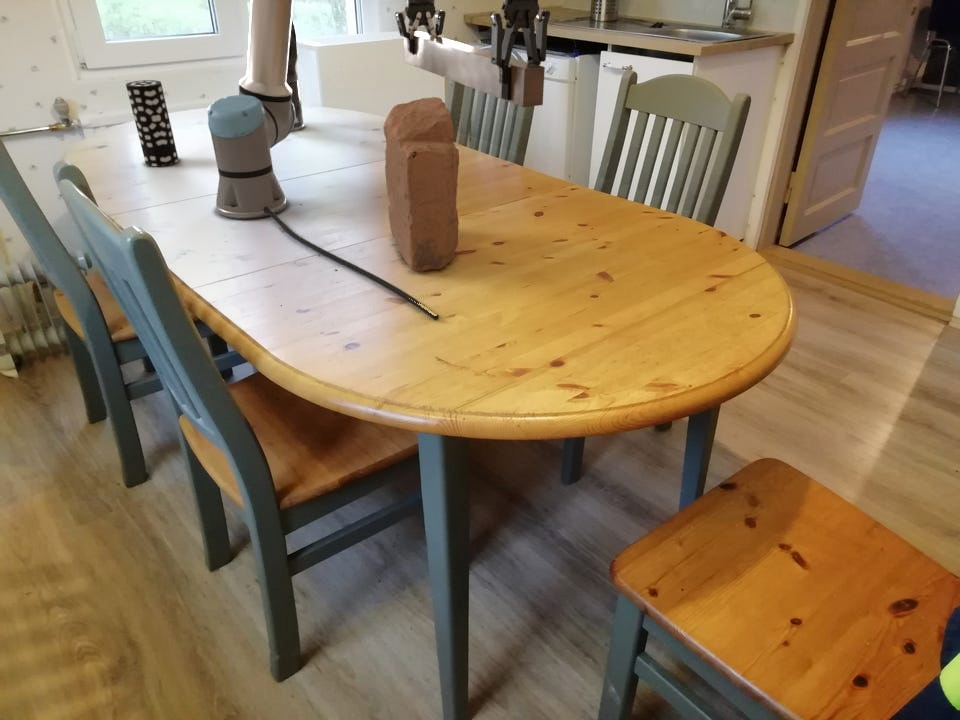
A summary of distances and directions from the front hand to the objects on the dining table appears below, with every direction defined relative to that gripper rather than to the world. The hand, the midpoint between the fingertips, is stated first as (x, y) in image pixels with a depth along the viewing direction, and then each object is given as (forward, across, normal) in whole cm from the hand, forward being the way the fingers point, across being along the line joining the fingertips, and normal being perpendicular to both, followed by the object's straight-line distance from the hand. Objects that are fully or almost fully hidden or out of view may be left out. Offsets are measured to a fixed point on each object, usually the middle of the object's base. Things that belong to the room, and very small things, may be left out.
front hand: (517, 97), depth 151 cm
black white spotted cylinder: (+13, +69, -69) cm, 99 cm away
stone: (+23, +31, +17) cm, 42 cm away
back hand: (-2, 0, -50) cm, 50 cm away
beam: (+1, 0, -25) cm, 25 cm away
